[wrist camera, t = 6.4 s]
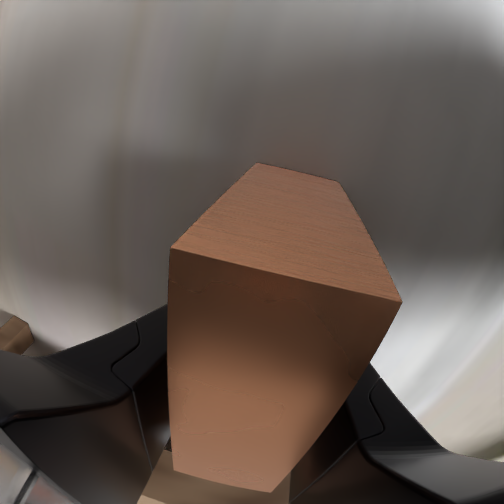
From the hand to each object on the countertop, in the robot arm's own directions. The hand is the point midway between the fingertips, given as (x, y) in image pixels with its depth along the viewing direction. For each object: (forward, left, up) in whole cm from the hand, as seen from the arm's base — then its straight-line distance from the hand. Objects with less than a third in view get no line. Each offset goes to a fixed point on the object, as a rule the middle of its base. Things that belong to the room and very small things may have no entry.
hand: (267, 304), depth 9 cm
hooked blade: (+2, +8, -1) cm, 9 cm away
